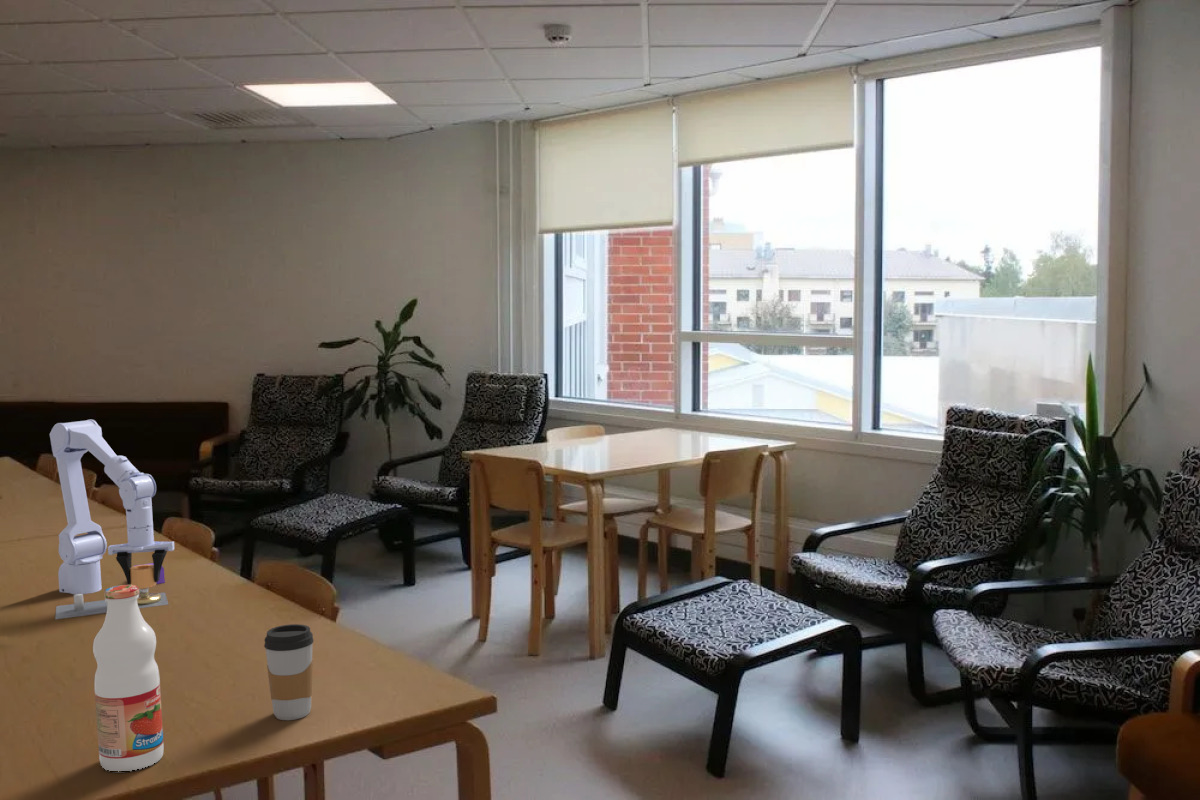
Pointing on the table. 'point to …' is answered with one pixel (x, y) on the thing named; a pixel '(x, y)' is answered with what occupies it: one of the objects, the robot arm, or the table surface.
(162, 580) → the bracket
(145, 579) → the sleeve
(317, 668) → the table surface
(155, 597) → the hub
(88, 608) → the board
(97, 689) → the fruit juice
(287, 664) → the coffee cup
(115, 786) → the table surface
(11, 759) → the table surface
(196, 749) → the table surface
